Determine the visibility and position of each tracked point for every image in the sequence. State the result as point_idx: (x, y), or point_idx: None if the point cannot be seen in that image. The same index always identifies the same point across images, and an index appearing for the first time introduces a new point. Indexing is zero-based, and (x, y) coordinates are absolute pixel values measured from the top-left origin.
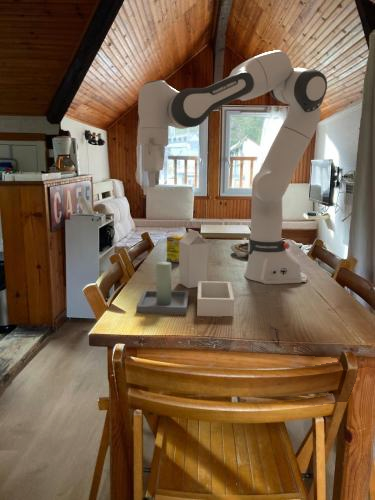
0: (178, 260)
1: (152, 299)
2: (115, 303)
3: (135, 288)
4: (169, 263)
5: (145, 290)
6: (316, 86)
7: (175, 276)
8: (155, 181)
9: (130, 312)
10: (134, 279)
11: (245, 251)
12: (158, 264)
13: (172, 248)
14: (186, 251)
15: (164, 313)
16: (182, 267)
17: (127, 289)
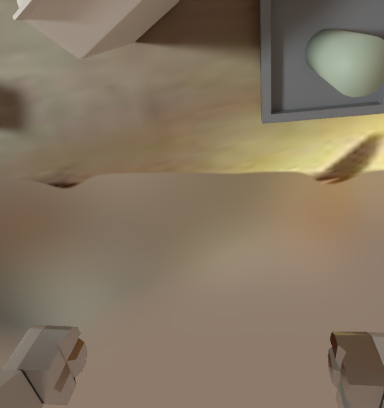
0: None
1: (300, 89)
2: (315, 170)
3: (205, 153)
4: (360, 44)
5: (265, 118)
6: None
7: (75, 67)
8: (62, 371)
9: (377, 123)
10: (137, 171)
11: None
12: (373, 85)
13: None
14: (141, 10)
15: None
16: (135, 30)
17: (216, 169)
